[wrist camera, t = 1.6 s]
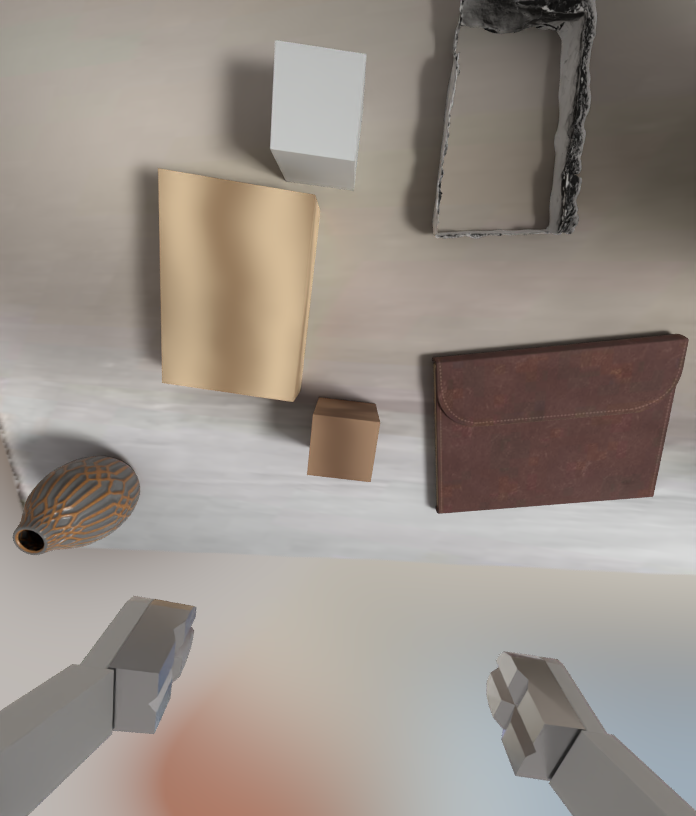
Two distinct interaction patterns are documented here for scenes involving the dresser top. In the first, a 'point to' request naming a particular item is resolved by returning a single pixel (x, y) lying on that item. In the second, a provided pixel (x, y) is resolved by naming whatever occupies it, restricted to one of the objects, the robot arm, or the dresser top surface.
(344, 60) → the grey block
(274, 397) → the oak block
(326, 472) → the walnut cube
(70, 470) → the vase
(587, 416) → the notebook
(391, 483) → the dresser top surface
